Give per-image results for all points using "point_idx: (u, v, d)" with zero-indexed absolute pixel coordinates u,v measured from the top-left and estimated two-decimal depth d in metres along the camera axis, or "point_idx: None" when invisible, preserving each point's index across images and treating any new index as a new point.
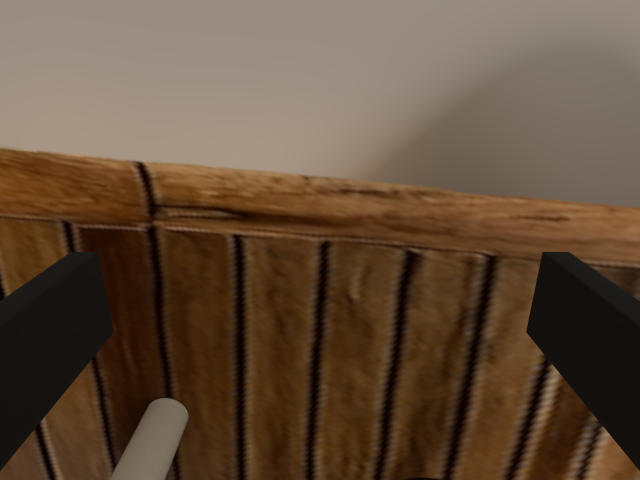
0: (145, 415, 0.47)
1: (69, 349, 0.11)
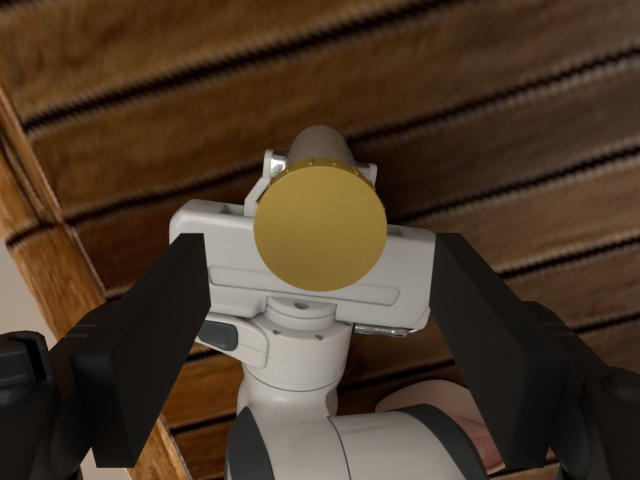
0: None
1: (191, 316, 0.12)
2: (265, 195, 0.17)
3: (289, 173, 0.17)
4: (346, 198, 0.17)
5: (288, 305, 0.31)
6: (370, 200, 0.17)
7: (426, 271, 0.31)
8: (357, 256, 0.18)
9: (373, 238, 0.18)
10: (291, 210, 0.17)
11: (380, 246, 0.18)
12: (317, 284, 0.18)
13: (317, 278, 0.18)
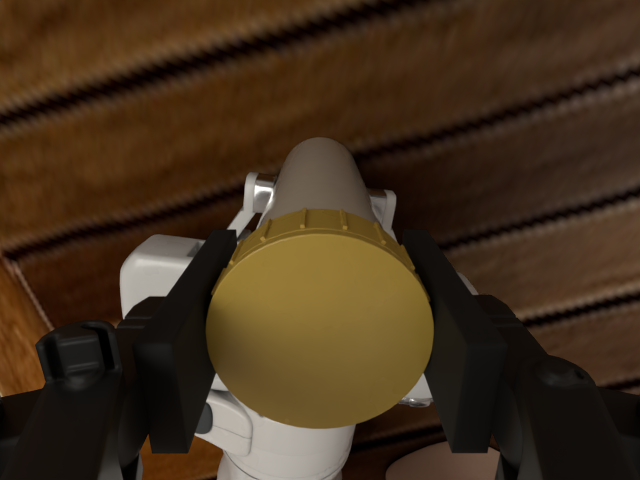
0: None
1: None
2: (223, 282, 0.10)
3: (264, 245, 0.09)
4: (365, 287, 0.10)
5: None
6: (407, 290, 0.10)
7: None
8: (382, 377, 0.11)
9: (410, 350, 0.10)
10: (269, 306, 0.10)
11: (421, 362, 0.10)
12: (315, 418, 0.11)
13: (315, 409, 0.11)
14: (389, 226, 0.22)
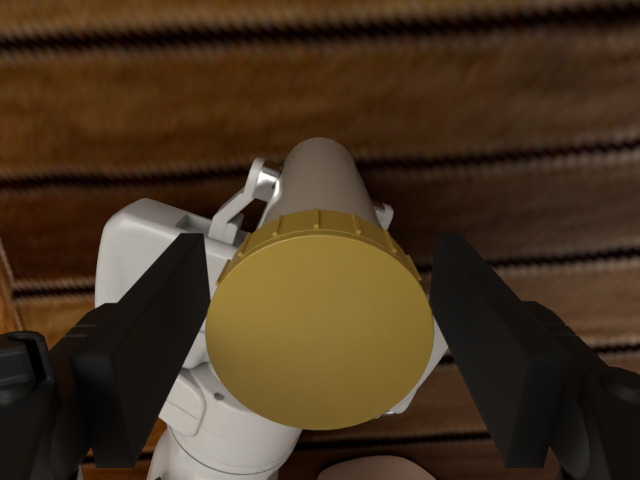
0: None
1: (191, 316, 0.12)
2: (215, 370, 0.11)
3: (206, 323, 0.10)
4: (295, 278, 0.10)
5: None
6: (323, 248, 0.09)
7: None
8: (395, 319, 0.10)
9: (386, 282, 0.10)
10: (259, 355, 0.10)
11: (407, 280, 0.10)
12: (392, 393, 0.11)
13: (383, 387, 0.11)
14: None
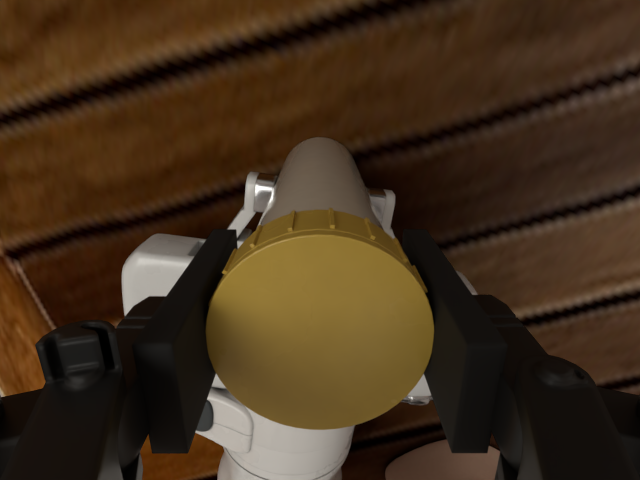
0: None
1: None
2: (227, 387, 0.11)
3: (207, 344, 0.10)
4: (280, 284, 0.10)
5: None
6: (299, 250, 0.09)
7: None
8: (389, 305, 0.10)
9: (370, 270, 0.10)
10: (265, 365, 0.11)
11: (390, 264, 0.10)
12: (404, 378, 0.11)
13: (394, 374, 0.11)
14: (388, 225, 0.22)
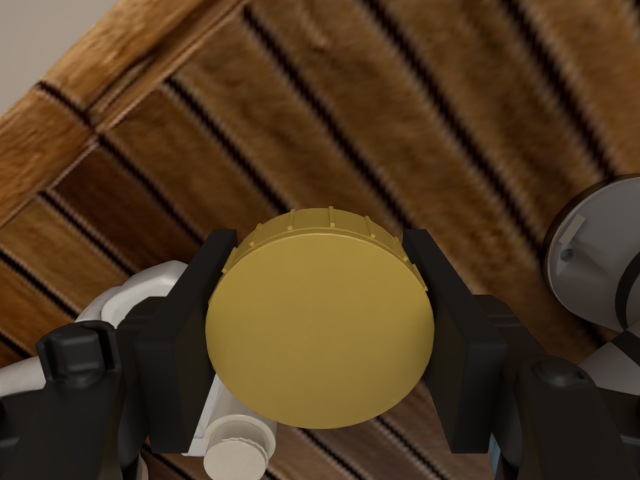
0: None
1: None
2: (227, 386, 0.11)
3: (207, 343, 0.10)
4: (279, 283, 0.10)
5: None
6: (299, 248, 0.09)
7: None
8: (389, 304, 0.10)
9: (370, 268, 0.10)
10: (265, 364, 0.10)
11: (390, 262, 0.10)
12: (405, 377, 0.11)
13: (395, 373, 0.11)
14: None
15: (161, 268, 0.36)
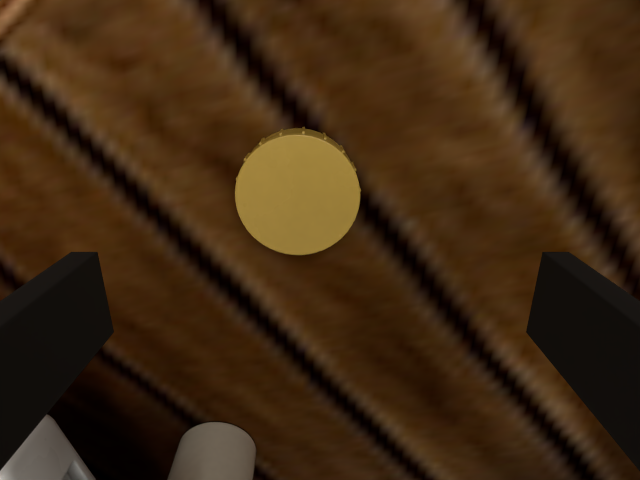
0: None
1: (69, 349, 0.11)
2: (246, 227, 0.19)
3: (236, 201, 0.19)
4: (275, 163, 0.18)
5: None
6: (286, 143, 0.18)
7: None
8: (334, 175, 0.18)
9: (323, 154, 0.18)
10: (268, 213, 0.19)
11: (334, 151, 0.18)
12: (345, 220, 0.19)
13: (339, 218, 0.19)
14: None
15: None
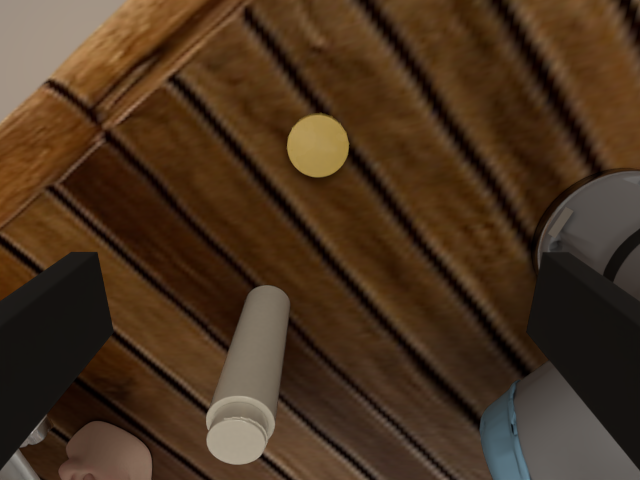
0: None
1: (69, 349, 0.11)
2: (292, 162, 0.39)
3: (287, 148, 0.38)
4: (307, 129, 0.38)
5: None
6: (312, 119, 0.37)
7: None
8: (336, 135, 0.38)
9: (330, 125, 0.38)
10: (303, 154, 0.38)
11: (335, 123, 0.37)
12: (341, 159, 0.39)
13: (338, 157, 0.39)
14: None
15: None
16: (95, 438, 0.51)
